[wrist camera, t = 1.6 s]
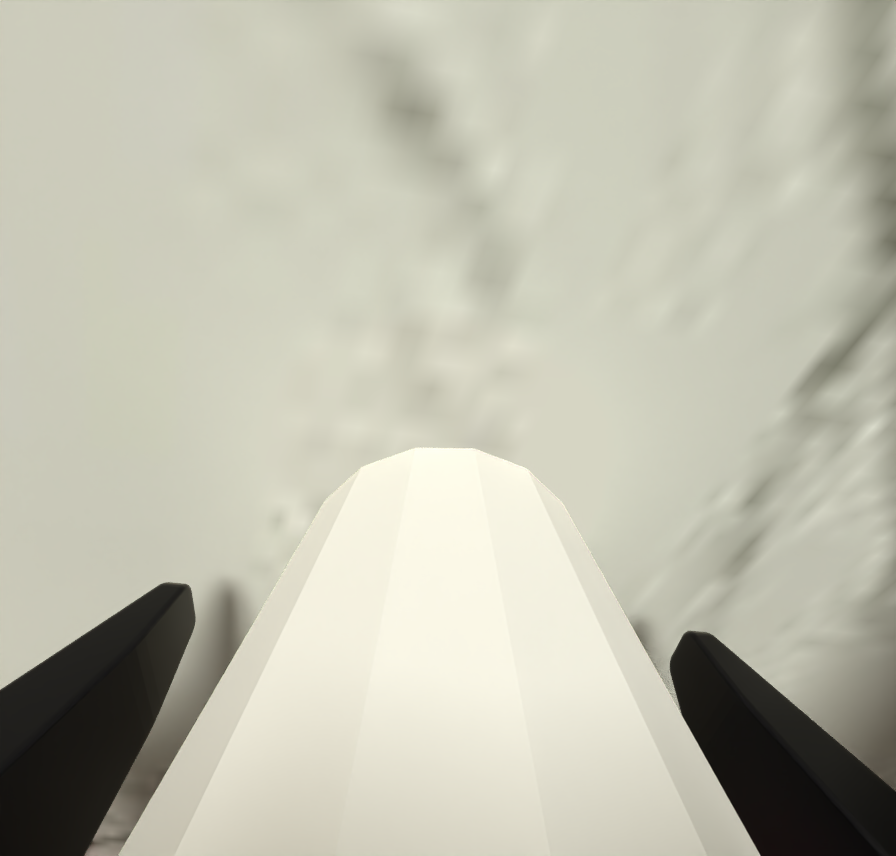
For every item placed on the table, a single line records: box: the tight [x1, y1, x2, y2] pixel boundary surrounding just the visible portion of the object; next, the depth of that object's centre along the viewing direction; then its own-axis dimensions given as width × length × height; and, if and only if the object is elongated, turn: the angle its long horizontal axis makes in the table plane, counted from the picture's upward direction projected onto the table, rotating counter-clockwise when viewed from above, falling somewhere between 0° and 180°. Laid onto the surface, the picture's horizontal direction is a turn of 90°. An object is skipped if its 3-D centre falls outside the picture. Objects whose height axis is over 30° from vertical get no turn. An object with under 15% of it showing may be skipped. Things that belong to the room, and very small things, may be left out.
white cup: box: [118, 448, 760, 856], centre depth 7 cm, size 7×7×7 cm
